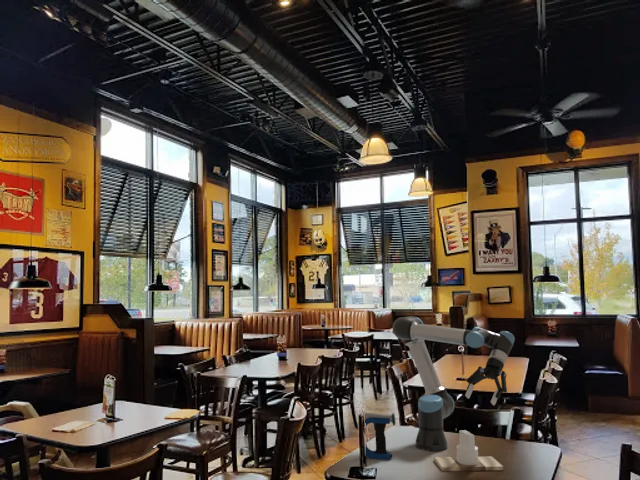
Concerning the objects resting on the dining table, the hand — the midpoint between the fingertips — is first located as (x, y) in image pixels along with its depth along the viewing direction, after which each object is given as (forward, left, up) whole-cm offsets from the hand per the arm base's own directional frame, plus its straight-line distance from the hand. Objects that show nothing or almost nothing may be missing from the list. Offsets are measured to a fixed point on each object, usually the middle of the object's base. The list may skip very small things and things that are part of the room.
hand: (479, 400), depth 227 cm
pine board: (-1, -13, -25) cm, 28 cm away
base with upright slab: (-1, -13, -24) cm, 27 cm away
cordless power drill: (-37, -28, -26) cm, 53 cm away
